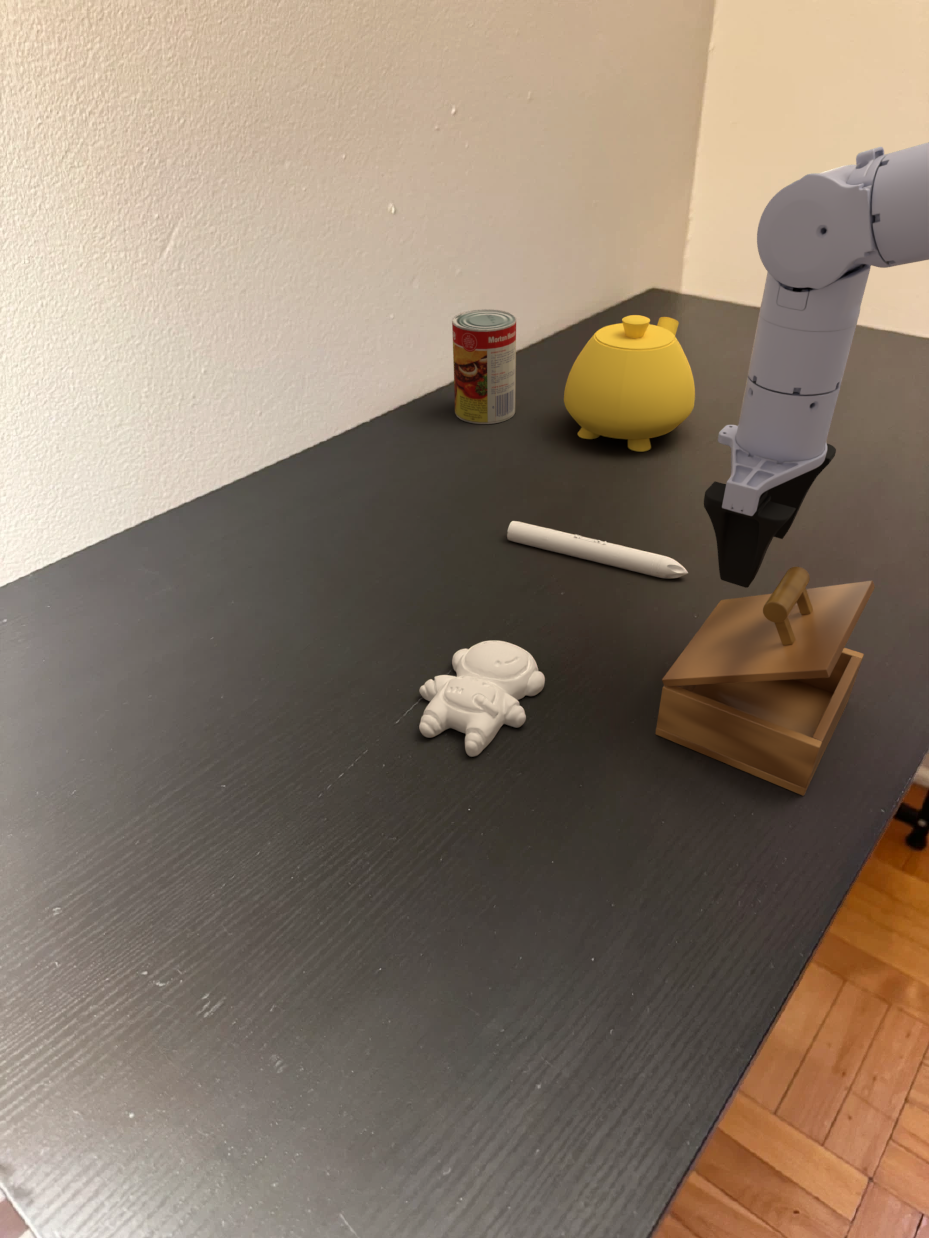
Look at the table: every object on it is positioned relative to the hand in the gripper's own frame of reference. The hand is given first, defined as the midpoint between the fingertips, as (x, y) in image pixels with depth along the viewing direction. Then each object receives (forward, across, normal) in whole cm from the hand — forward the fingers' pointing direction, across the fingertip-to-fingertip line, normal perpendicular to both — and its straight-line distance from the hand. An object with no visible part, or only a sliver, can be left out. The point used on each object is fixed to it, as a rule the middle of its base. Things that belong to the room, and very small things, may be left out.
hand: (753, 556), depth 62 cm
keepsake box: (+10, +5, +4) cm, 12 cm away
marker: (+11, -8, -16) cm, 22 cm away
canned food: (+11, -32, -45) cm, 56 cm away
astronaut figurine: (+11, +15, -15) cm, 23 cm away
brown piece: (+3, +5, +3) cm, 7 cm away
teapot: (+11, -39, -27) cm, 48 cm away
